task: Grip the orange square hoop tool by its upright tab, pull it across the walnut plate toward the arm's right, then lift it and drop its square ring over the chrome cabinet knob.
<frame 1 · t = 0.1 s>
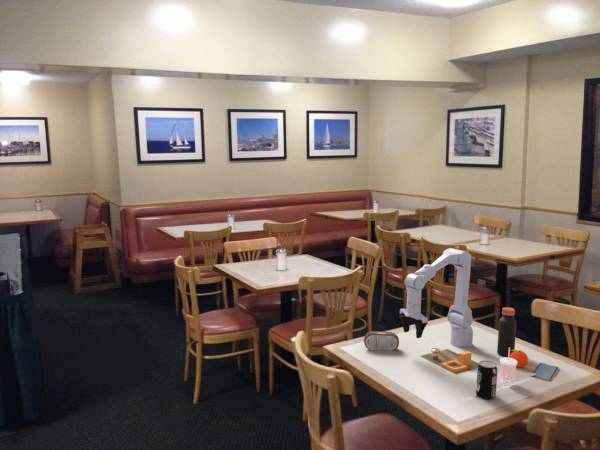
hand: (412, 334, 217), 10 cm above the table, tool pointing down, fingers open, 7 cm apart
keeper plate: (451, 362, 214), on the table
orange square hoop tool: (454, 367, 207), point 1 cm above the table, touching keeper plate
smartphone: (544, 374, 205), on the table
tin: (381, 351, 226), on the table
bottle: (505, 354, 223), on the table
clementine: (516, 367, 210), on the table
beverage cup: (506, 383, 195), on the table
beverage can: (485, 396, 185), on the table
chrome cabinet knob: (435, 358, 216), resting on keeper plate
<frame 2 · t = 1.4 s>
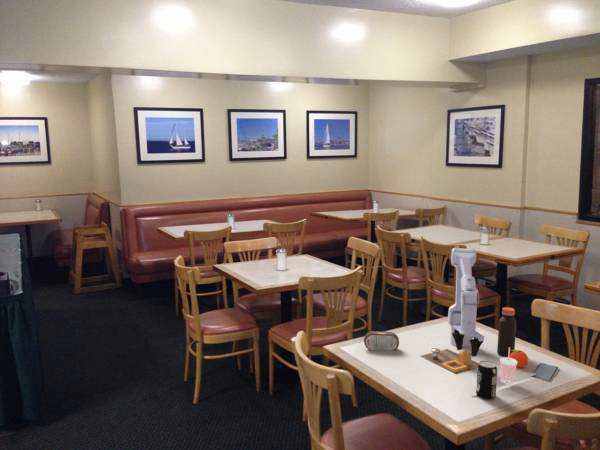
hand: (466, 352, 210), 6 cm above the table, tool pointing down, fingers open, 7 cm apart
nothing on the table moved.
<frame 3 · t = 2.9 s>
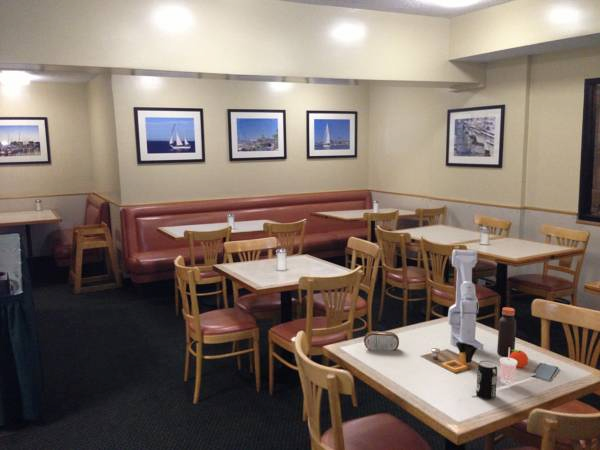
hand: (466, 361, 210), 2 cm above the table, tool pointing down, fingers closed on orange square hoop tool
orange square hoop tool: (454, 367, 207), point 1 cm above the table, touching gripper, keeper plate
everything else where it was.
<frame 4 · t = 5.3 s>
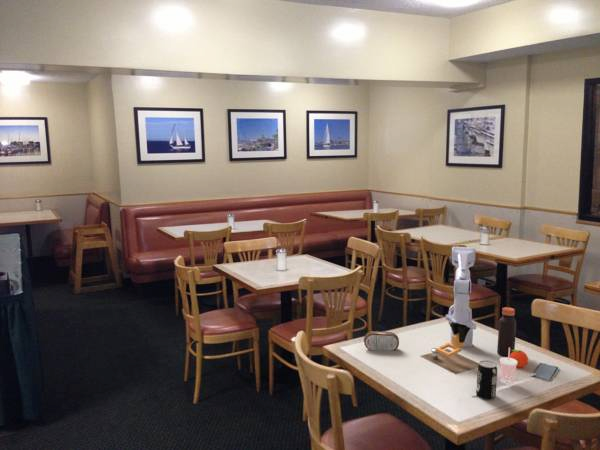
hand: (459, 341, 213), 9 cm above the table, tool pointing down, fingers closed on orange square hoop tool
orange square hoop tool: (448, 351, 210), point 6 cm above the table, tilted 10°, touching gripper
everything else where it was.
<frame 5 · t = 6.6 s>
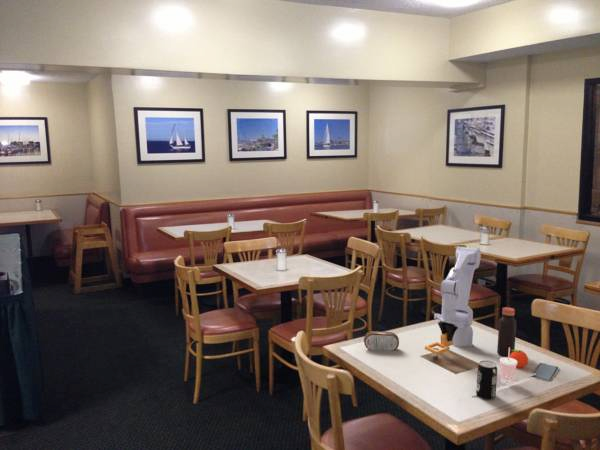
hand: (447, 339, 218), 8 cm above the table, tool pointing down, fingers closed on orange square hoop tool
orange square hoop tool: (437, 349, 216), point 5 cm above the table, tilted 6°, touching gripper, chrome cabinet knob
everything else where it was.
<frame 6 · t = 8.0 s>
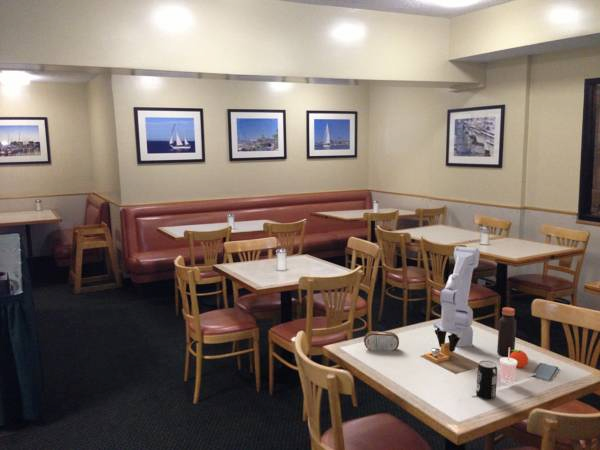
hand: (446, 348, 219), 4 cm above the table, tool pointing down, fingers open, 5 cm apart
orange square hoop tool: (436, 358, 216), point 1 cm above the table, touching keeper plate
everything else where it was.
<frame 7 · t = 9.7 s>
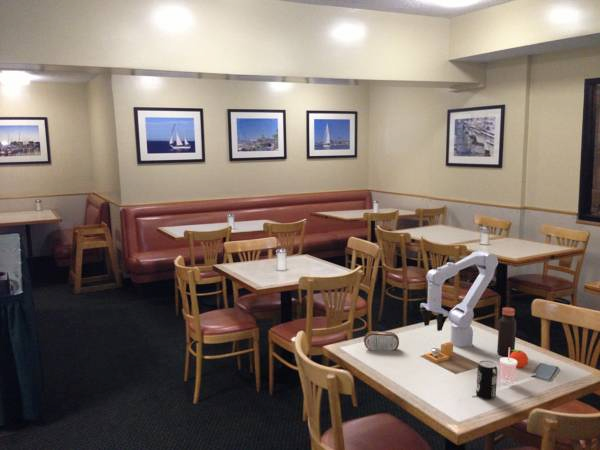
hand: (433, 327, 227), 9 cm above the table, tool pointing down, fingers open, 7 cm apart
nothing on the table moved.
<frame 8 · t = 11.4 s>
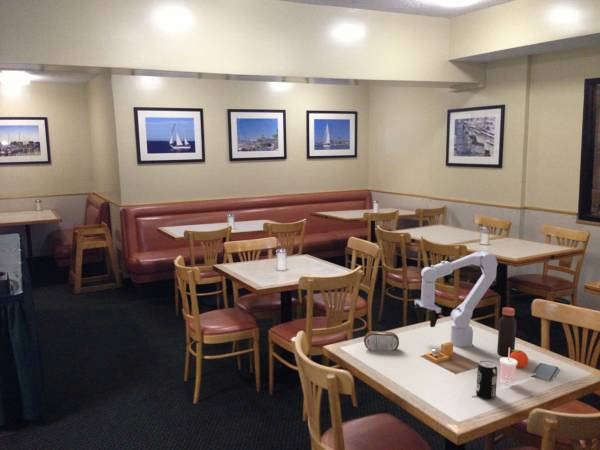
hand: (426, 324, 232), 9 cm above the table, tool pointing down, fingers open, 7 cm apart
nothing on the table moved.
at the end: orange square hoop tool 0.8 cm from the chrome cabinet knob (horizontally); orange square hoop tool point 0.8 cm above the table; the gripper is holding nothing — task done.
